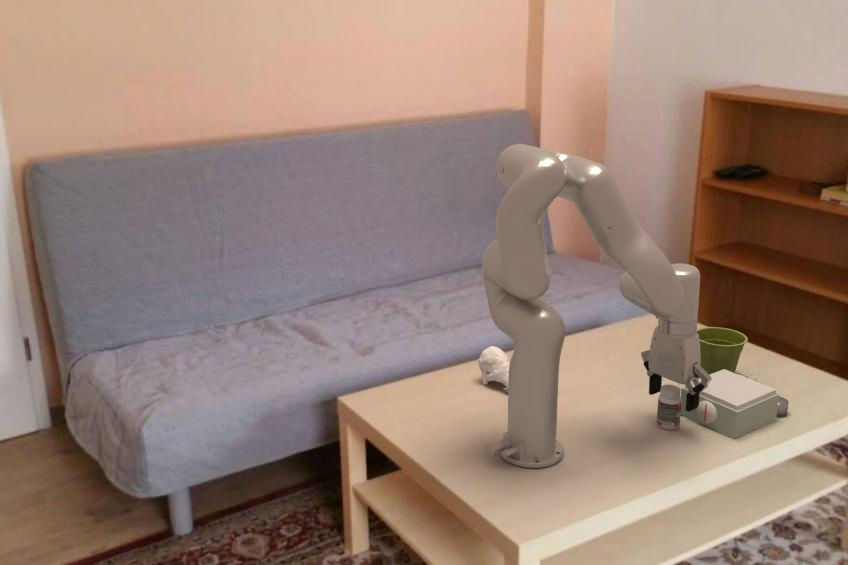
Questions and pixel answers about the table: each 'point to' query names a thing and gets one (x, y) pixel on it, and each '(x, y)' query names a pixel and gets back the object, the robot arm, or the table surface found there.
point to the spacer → (782, 407)
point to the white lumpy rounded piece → (494, 366)
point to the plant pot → (720, 348)
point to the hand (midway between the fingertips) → (673, 400)
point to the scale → (733, 404)
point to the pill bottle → (669, 407)
